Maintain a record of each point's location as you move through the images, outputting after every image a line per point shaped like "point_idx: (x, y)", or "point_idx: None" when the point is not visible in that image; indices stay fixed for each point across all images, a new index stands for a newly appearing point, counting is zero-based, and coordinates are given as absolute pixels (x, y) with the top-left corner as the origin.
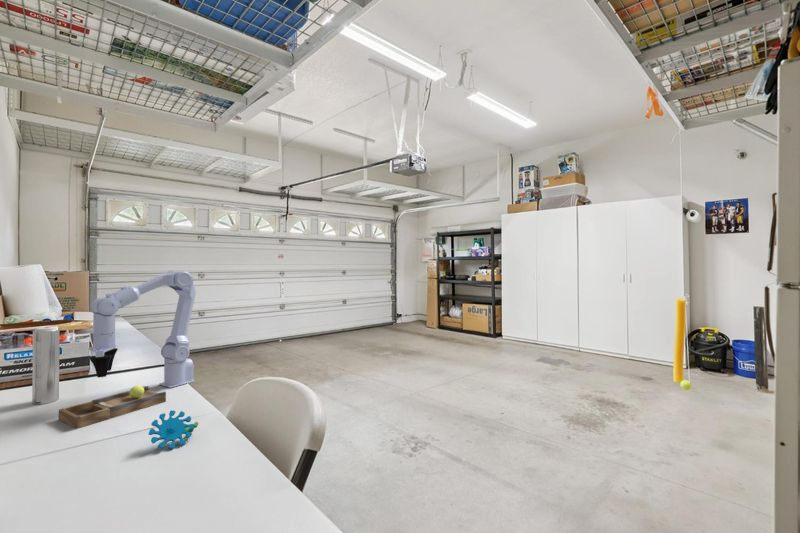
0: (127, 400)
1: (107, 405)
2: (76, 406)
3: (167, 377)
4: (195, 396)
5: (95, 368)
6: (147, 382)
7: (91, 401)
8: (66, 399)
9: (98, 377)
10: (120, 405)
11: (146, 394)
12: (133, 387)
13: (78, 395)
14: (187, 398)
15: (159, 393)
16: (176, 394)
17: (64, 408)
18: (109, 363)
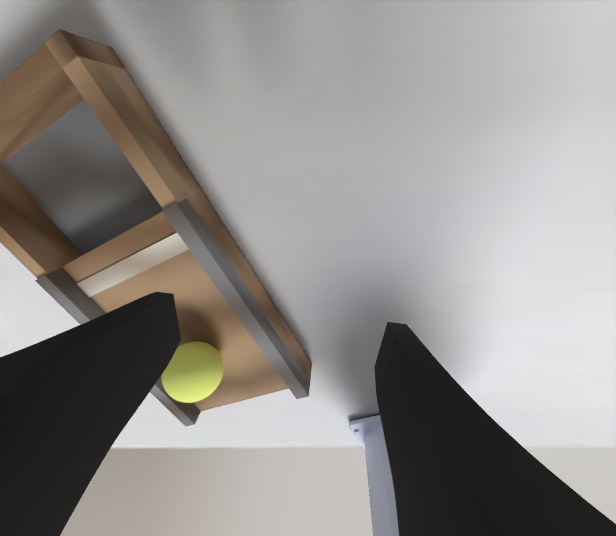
0: (183, 323)
1: (134, 262)
2: (109, 133)
3: (384, 457)
4: (215, 445)
5: (33, 347)
6: (519, 379)
7: (169, 202)
8: (546, 6)
9: (154, 295)
10: (69, 310)
11: (236, 376)
12: (172, 381)
13: (584, 82)
14: (205, 432)
15: (175, 412)
16: (263, 420)
17: (76, 65)
18: (391, 434)
